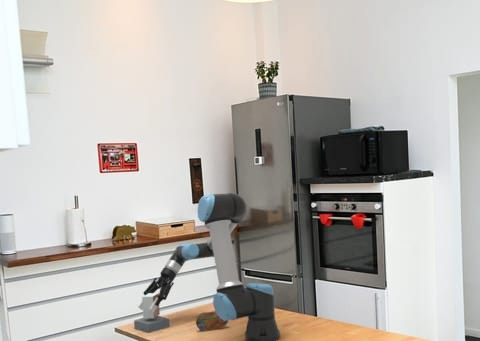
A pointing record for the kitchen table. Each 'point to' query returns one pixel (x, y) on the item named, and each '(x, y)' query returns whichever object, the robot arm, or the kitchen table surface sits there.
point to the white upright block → (148, 303)
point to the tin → (210, 321)
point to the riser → (151, 324)
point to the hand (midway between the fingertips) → (145, 309)
